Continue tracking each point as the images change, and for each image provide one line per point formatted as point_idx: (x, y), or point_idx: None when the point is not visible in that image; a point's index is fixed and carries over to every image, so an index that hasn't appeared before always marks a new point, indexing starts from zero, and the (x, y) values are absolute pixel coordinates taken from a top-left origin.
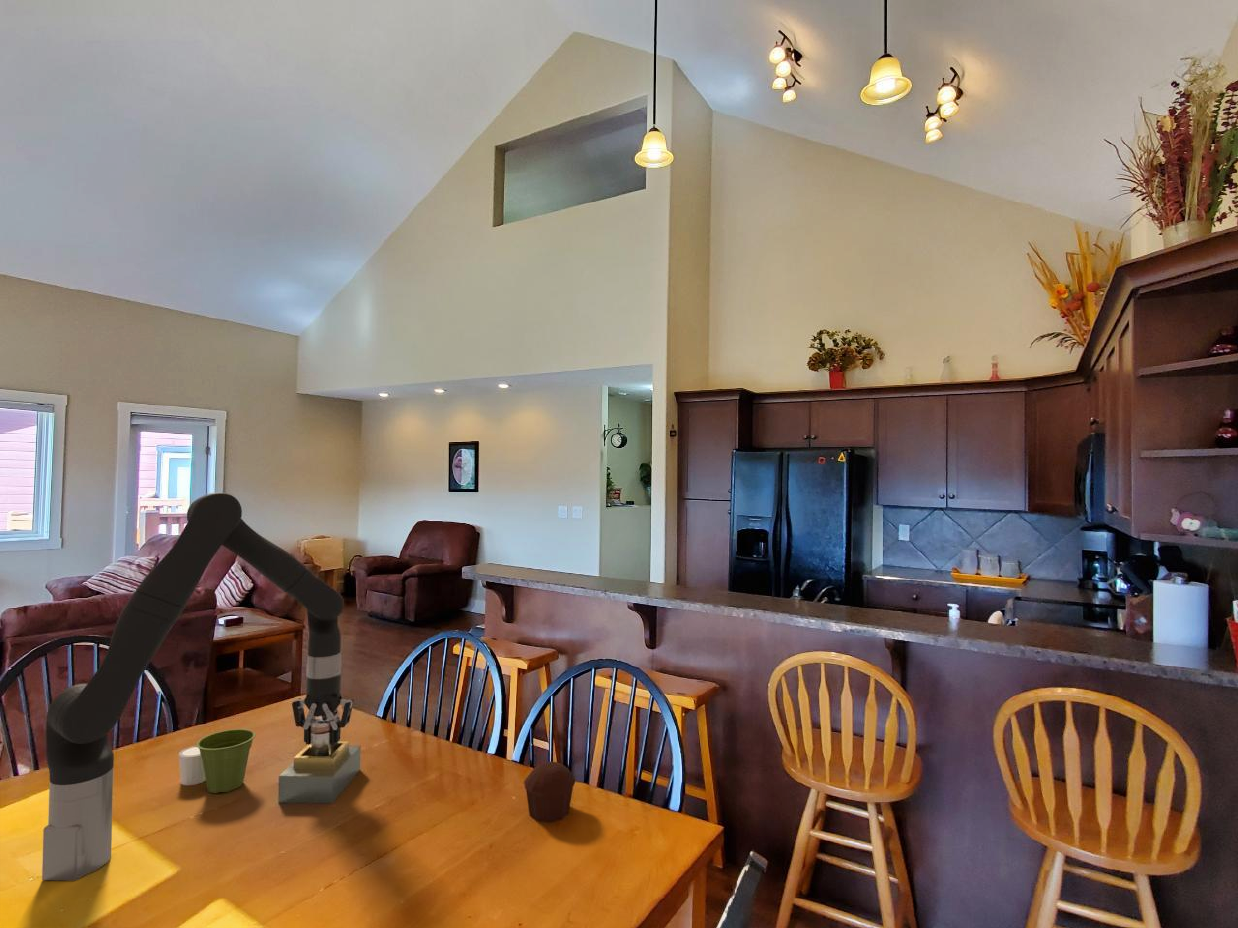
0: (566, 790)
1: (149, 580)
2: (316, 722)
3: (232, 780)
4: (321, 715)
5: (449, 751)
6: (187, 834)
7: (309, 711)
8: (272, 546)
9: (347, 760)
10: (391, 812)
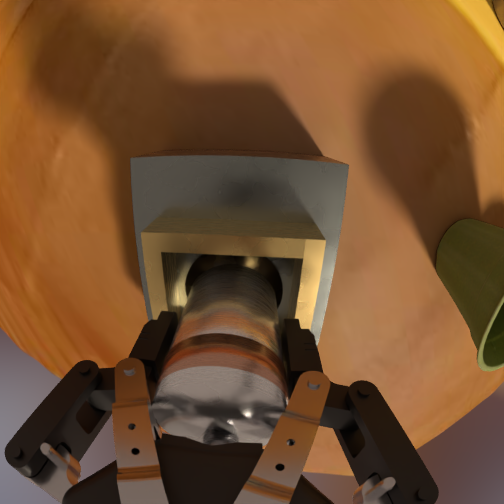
0: None
1: None
2: (243, 405)
3: (461, 235)
4: (207, 445)
5: (59, 364)
6: (450, 48)
7: (296, 473)
8: None
9: (142, 284)
10: (30, 131)
